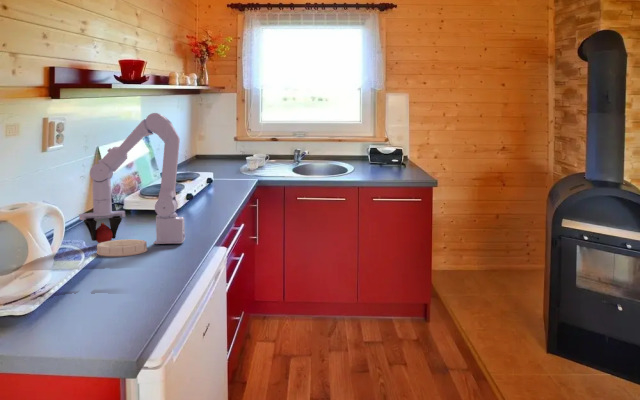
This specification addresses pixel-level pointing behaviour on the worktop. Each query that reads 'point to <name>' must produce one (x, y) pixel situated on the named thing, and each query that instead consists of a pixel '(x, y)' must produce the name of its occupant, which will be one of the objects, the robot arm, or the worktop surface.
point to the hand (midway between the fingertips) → (103, 239)
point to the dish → (121, 247)
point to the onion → (103, 233)
